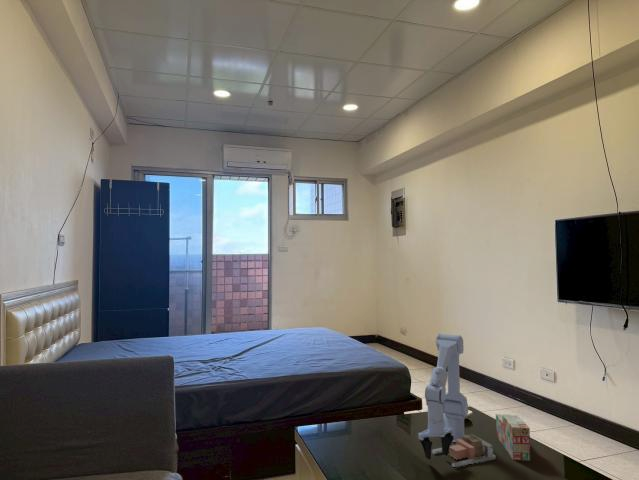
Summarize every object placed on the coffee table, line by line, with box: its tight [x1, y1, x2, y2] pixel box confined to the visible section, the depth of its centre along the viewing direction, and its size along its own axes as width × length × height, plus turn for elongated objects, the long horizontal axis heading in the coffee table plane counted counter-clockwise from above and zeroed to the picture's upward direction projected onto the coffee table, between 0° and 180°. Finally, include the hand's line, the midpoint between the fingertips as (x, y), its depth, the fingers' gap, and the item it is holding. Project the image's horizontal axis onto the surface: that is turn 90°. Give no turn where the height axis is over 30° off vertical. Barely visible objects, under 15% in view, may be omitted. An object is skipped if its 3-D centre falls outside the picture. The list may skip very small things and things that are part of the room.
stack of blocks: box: [495, 413, 531, 462], centre depth 162 cm, size 21×6×12 cm, turn 172°
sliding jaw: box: [448, 439, 475, 461], centre depth 155 cm, size 8×7×4 cm
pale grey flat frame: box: [431, 433, 497, 468], centre depth 155 cm, size 13×19×4 cm
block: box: [463, 433, 483, 457], centre depth 157 cm, size 6×4×6 cm, turn 21°
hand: (436, 456), depth 151 cm, fingers open, 7 cm apart
